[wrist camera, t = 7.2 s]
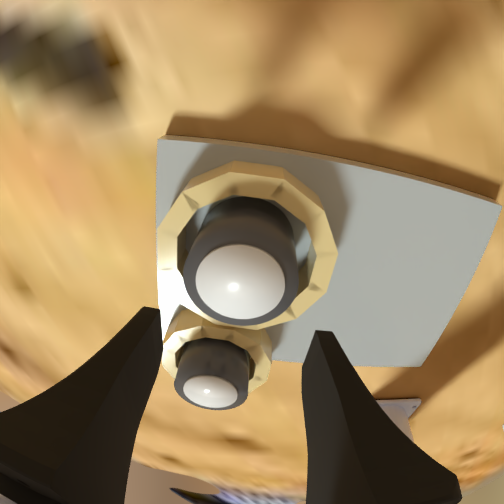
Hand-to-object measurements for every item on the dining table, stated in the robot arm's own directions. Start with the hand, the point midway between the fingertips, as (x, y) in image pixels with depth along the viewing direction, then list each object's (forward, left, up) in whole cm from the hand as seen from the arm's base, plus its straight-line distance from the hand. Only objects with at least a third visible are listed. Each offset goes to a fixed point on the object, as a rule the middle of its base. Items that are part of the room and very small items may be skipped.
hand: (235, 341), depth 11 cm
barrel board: (-3, -5, -8) cm, 10 cm away
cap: (0, 0, -7) cm, 7 cm away
